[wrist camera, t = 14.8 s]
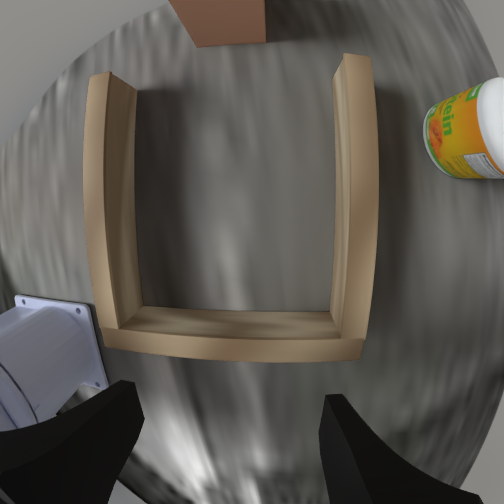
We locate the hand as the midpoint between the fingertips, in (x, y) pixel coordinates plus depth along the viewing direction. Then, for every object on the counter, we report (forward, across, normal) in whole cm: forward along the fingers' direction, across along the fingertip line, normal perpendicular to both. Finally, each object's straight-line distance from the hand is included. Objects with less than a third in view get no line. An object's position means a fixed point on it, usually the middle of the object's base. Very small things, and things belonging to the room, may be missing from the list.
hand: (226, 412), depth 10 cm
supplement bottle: (+10, -14, -12) cm, 21 cm away
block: (+10, +1, -20) cm, 22 cm away
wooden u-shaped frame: (+9, +1, -7) cm, 12 cm away
